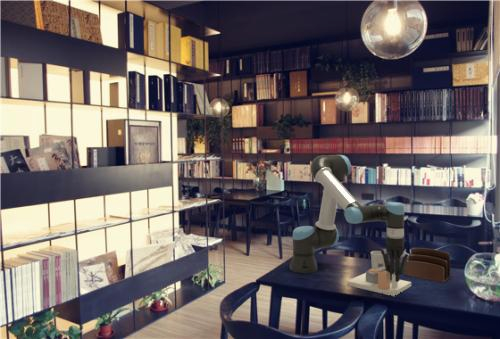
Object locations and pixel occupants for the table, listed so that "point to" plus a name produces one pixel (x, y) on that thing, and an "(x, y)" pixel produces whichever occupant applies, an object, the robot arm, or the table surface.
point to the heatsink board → (375, 286)
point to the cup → (376, 258)
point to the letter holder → (428, 264)
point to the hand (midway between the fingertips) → (394, 287)
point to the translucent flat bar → (379, 269)
